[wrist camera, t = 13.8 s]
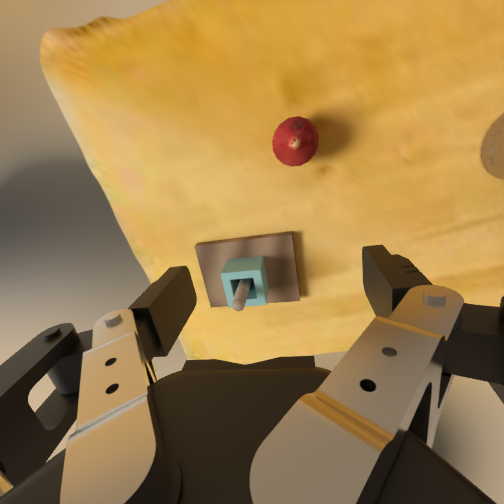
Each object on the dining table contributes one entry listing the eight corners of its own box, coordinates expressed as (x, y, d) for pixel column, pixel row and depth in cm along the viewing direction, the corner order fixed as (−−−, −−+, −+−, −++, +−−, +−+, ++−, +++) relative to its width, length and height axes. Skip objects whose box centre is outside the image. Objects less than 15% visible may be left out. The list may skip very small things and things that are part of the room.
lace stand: (291, 231, 42) (291, 261, 32) (299, 296, 47) (302, 340, 36) (197, 243, 46) (169, 273, 35) (213, 302, 50) (192, 345, 39)
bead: (263, 255, 43) (259, 269, 39) (268, 288, 45) (266, 304, 41) (227, 259, 44) (220, 273, 40) (234, 290, 46) (228, 307, 42)
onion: (281, 113, 36) (279, 106, 29) (322, 126, 36) (330, 122, 29) (269, 156, 39) (263, 161, 31) (307, 168, 39) (310, 175, 31)
